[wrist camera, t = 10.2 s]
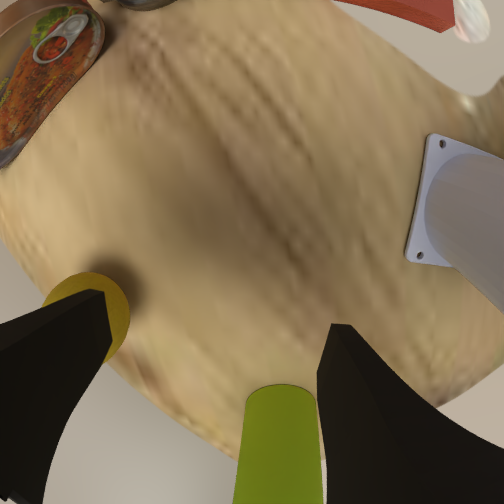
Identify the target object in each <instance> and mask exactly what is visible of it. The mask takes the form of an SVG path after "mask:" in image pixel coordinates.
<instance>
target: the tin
mask: <svg viewBox="0 0 504 504" xmlns="http://www.w3.org/2000/svg"><path fill="white" fill-rule="evenodd" d="M104 38H105V26H104V23H103V20H102V18H101V17H100V15H99V14H98V13H97V12H96V11H94V10H93V8H92V6H91V5H90V4H89V3H88V1H87V0H18V1H16V2H15V3H13V4H11V5H10V6H8V7H7V8H6V9H4V10H3V11H2V12H1V13H0V169H1V168H3V167H4V166H5V165H7V164H8V163H9V162H10V161H11V160H12V159H13V158H14V157H16V156H17V154H18V153H19V152H20V151H21V150H22V149H23V148H24V147H25V145H26V144H27V143H28V141H29V140H30V138H31V137H32V136H33V134H34V133H35V131H36V130H37V129H38V127H39V126H40V125H41V123H42V122H43V121H44V119H45V118H46V117H47V116H48V114H49V113H50V112H51V111H52V109H53V108H54V107H55V106H56V104H57V103H58V102H59V101H60V100H61V99H62V97H63V96H64V95H65V94H66V93H67V92H68V91H69V90H70V88H71V87H72V86H73V85H74V84H75V83H76V82H77V81H78V80H79V79H80V78H81V77H82V76H83V75H84V73H85V72H86V71H87V70H88V69H89V68H90V66H91V65H92V64H93V62H94V61H95V59H96V58H97V56H98V54H99V52H100V50H101V48H102V45H103V42H104Z"/></svg>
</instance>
